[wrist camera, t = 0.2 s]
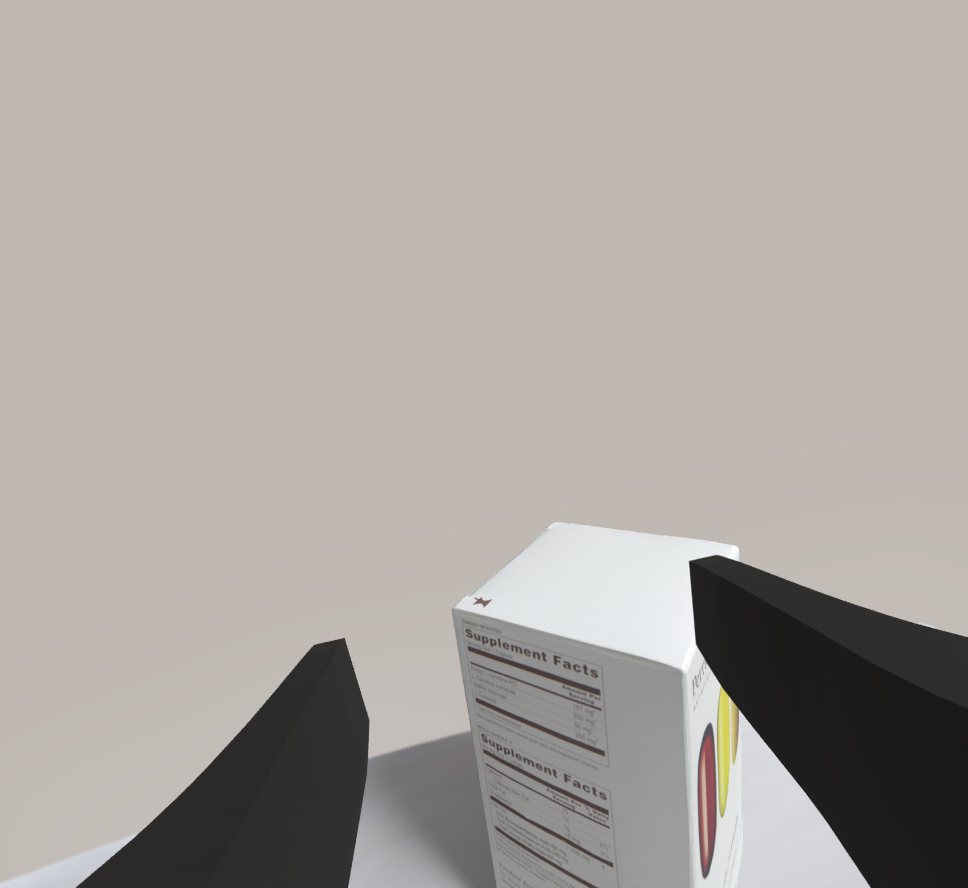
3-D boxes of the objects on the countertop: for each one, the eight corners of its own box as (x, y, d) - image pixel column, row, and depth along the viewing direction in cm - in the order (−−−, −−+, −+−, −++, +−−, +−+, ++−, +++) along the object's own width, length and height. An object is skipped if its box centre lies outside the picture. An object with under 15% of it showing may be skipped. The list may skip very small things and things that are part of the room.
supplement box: (705, 1071, 19) (687, 679, 15) (495, 926, 24) (440, 609, 20) (747, 841, 26) (743, 539, 22) (580, 769, 32) (552, 515, 27)
